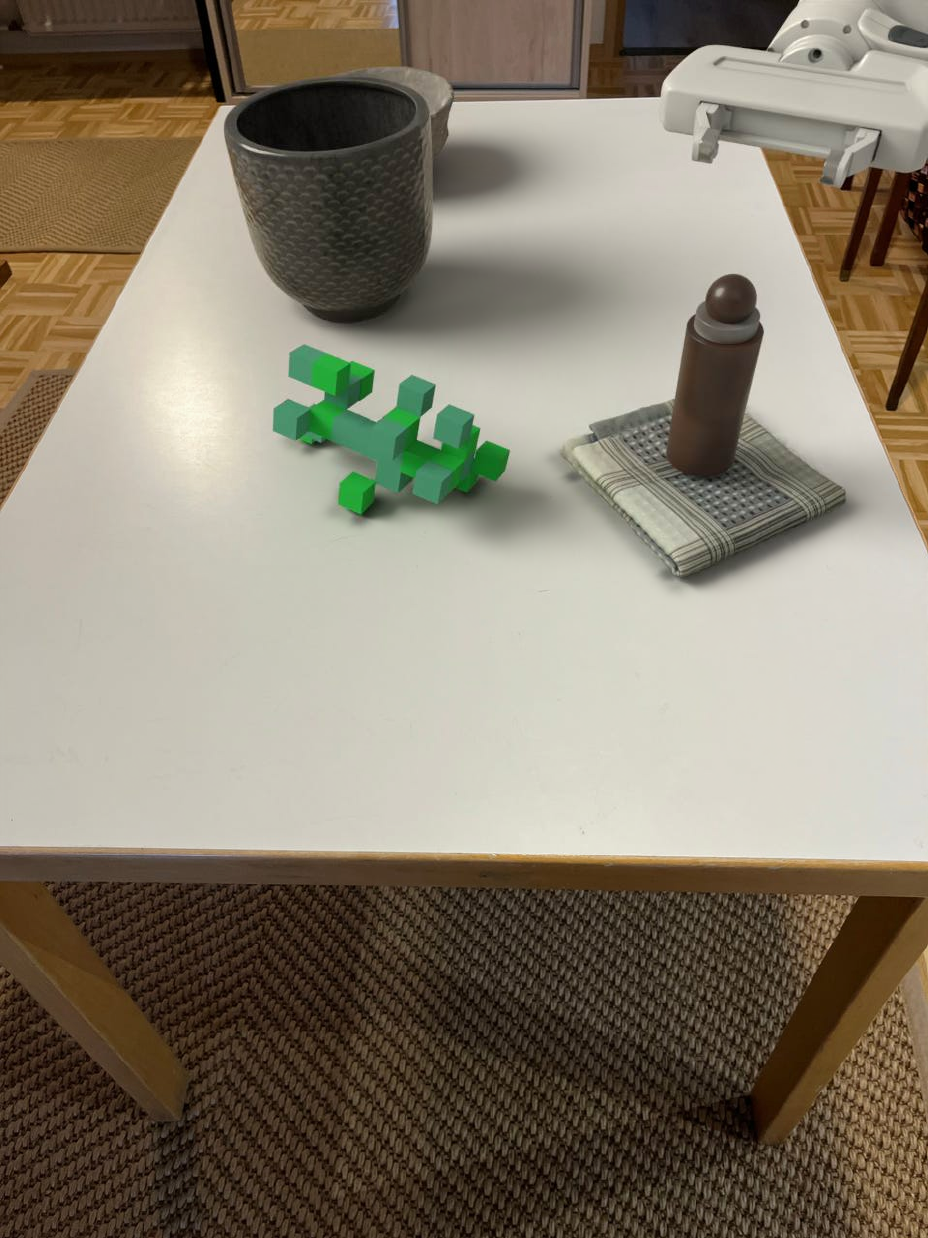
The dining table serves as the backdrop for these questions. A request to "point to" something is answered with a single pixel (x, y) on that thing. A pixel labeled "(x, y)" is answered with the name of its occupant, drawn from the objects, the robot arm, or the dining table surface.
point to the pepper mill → (715, 378)
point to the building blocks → (386, 432)
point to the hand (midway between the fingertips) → (765, 164)
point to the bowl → (427, 86)
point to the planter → (336, 190)
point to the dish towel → (698, 489)
